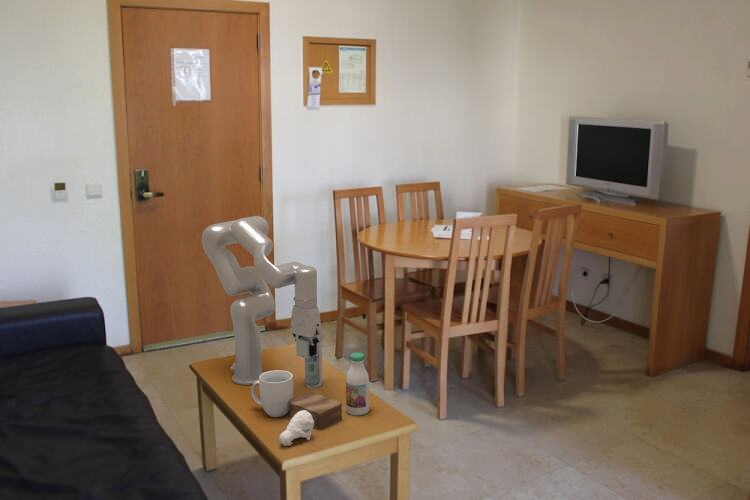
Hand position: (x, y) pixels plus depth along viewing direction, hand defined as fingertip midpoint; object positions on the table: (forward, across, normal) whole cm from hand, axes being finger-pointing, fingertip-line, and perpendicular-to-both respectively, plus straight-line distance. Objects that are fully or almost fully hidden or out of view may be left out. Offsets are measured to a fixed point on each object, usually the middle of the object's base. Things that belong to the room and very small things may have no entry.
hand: (306, 352), depth 249 cm
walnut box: (+17, +13, -11) cm, 24 cm away
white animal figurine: (+17, +18, -26) cm, 36 cm away
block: (+1, 0, 0) cm, 1 cm away
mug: (+17, -1, -15) cm, 23 cm away
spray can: (+17, -6, +11) cm, 21 cm away
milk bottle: (+17, +21, +2) cm, 27 cm away
